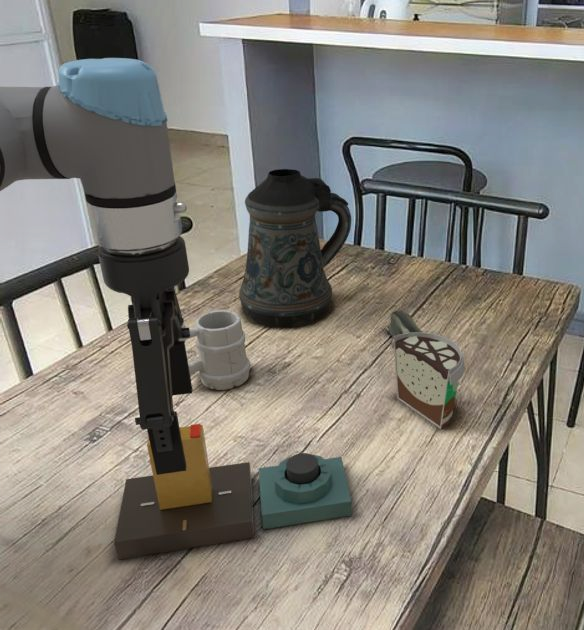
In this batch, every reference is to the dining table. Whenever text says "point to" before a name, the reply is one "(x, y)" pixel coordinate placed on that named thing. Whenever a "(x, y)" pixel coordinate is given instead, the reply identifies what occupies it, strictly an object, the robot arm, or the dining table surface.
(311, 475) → the bell button
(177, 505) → the lock knob
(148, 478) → the lock plate
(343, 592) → the dining table surface
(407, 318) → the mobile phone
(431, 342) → the food container
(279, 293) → the beer stein
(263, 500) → the push button box
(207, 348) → the mug
